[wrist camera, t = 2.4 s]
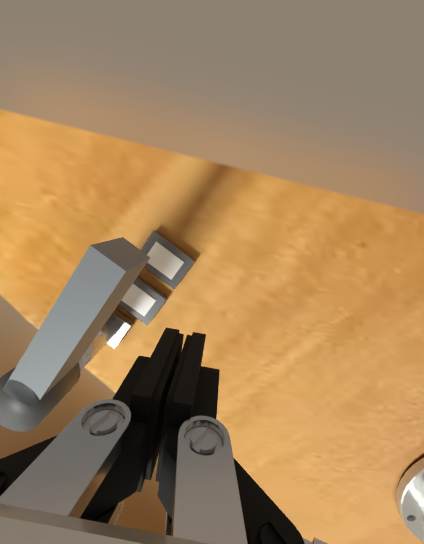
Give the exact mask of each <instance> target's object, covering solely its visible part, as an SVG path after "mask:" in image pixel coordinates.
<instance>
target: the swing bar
mask: <svg viewBox="0 0 424 544" xmlns="http://www.w3.org/2000/svg"><path fill="white" fill-rule="evenodd" d="M149 259H150V257H149V256H148V255H146V254H145V253H144V252H142V251H141V250H139V249H138V248H137V247H135V246H134V245H133V244H131V243H130V242H129V241H127V240H126V239H125V238H123V237H122V238H118V239H114V240H110V241H106V242H102V243H98V244H94V245H90V247H89V248H88V250H87V251H86V253H85V255H84V256H83V258H82V260H81V261H80V263H79V265H78V266H77V268H76V269H75V271H74V273H73V274H72V276H71V278H70V279H69V281H68V283H67V284H66V286H65V288H64V289H63V291H62V292H61V294H60V296H59V297H58V299H57V301H56V302H55V304H54V306H53V307H52V309H51V310H50V312H49V314H48V315H47V317H46V319H45V320H44V322H43V324H42V325H41V327H40V329H39V330H38V332H37V333H36V335H35V337H34V338H33V340H32V342H31V343H30V345H29V347H28V348H27V350H26V352H25V353H24V355H23V357H22V358H21V360H20V361H19V363H18V365H17V366H16V367H15V368H13V369H12V370H11V371H9V372H8V373H6V374H5V375H3V376H2V377H1V378H0V425H2V426H4V427H6V428H8V429H10V430H14V431H29V430H31V429H33V428H35V427H36V426H38V424H39V423H40V422H41V421H42V420H43V419H44V418H45V417H46V416H47V415H48V414H49V412H50V411H51V410H52V409H53V408H54V407H55V406H56V405H57V404H58V403H59V402H60V401H61V399H62V398H63V397H64V396H65V395H66V394H67V393H68V392H69V391H70V390H71V388H72V387H73V386H74V385H75V384H76V383H77V382H78V380H79V378H80V366H79V363H78V362H79V361H80V359H81V358H82V356H83V355H84V354H85V352H86V351H87V349H88V348H89V346H90V345H91V343H92V342H93V340H94V339H95V338H96V336H97V335H98V333H99V332H100V330H101V329H102V327H103V326H104V324H105V323H106V322H107V320H108V319H109V317H110V316H111V314H112V313H113V311H114V310H115V308H116V307H117V306H118V304H119V303H120V301H121V300H122V298H123V297H124V295H125V294H126V293H127V291H128V290H129V288H130V287H131V285H132V284H133V282H134V281H135V279H136V278H137V277H138V275H139V274H140V272H141V271H142V269H143V268H144V266H145V265H146V263H147V262H148V261H149Z"/></svg>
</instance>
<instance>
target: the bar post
mask: <svg viewBox="0 0 424 544" xmlns="http://www.w3.org/2000/svg"><path fill="white" fill-rule="evenodd" d="M133 323H134V322H132V321H131V320H130V319H128V318H127V317H125V316H124V315H123V314H121V313H120V312H118V311H117V310H116V309H115V310H114V311H113V313H112V314H111V316H110V317H109V319H108V320H107V322H106V323H105V324H104V326H103V327H102V329H101V330H100V332H99V333H98V335H97V336H96V338H95V339H94V340H93V342H92V343H91V345H90V346H89V348H88V349H87V351H86V352H85V354H84V355H83V356H82V358H81V359H80V361H79V362H78V363H79V366H80V371H81V370H82V369H83V368H84V366H85V365H86V364H87V363H88V362H89V361H90V360H91V359H92V358H93V357H94V356H95V355H96V354H97V353H98V352H99V351H100V350H101V349H102V348H103V347H104V346H105V345H106V344H109V345H110V346H112V347H113V348H114V349H115V347H116V346H117V345H118V344H119V342H120V341H121V340H122V338H123V337H124V336H125V334H126V333H127V331H128V330H129V329H130V327H131V326H132V324H133Z"/></svg>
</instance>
